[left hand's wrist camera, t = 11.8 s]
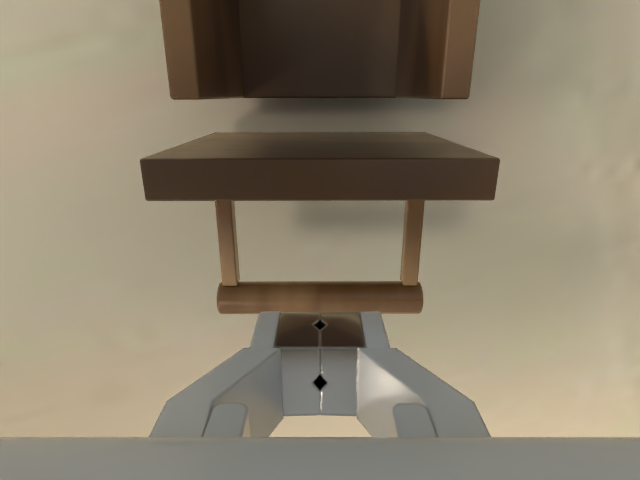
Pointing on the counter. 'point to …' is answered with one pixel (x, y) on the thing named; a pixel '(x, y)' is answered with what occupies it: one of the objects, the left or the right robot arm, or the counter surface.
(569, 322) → the counter surface
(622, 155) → the counter surface
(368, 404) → the left robot arm
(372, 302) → the drawer
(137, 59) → the counter surface
